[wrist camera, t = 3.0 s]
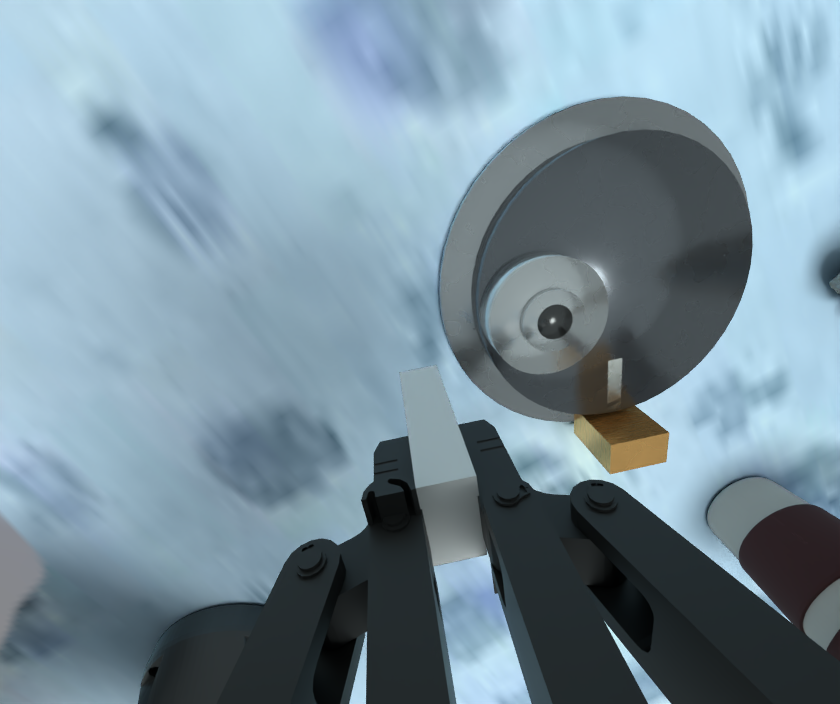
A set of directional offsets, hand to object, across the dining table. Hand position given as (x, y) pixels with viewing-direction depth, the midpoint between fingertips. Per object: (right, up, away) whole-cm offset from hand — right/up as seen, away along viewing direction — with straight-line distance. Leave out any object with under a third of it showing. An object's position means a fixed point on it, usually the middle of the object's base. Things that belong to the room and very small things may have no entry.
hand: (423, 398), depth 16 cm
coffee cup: (+31, -13, +22) cm, 40 cm away
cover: (+7, +5, +9) cm, 12 cm away
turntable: (+12, +5, +11) cm, 18 cm away
